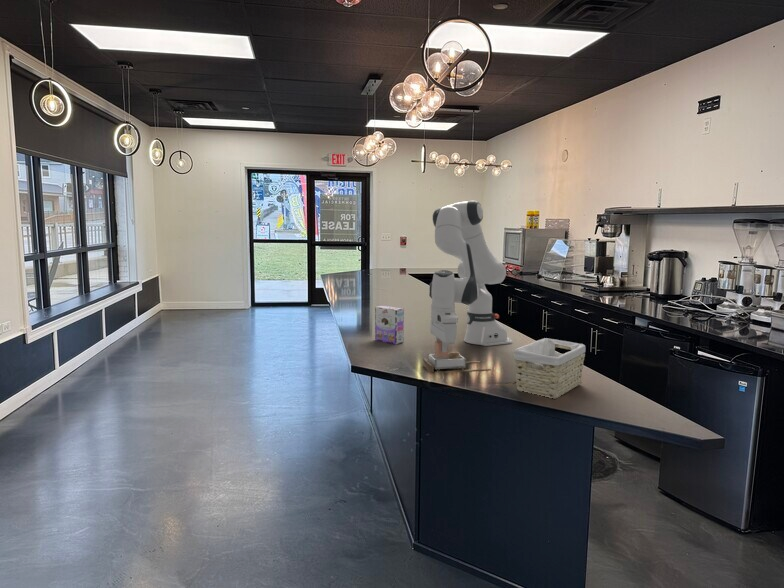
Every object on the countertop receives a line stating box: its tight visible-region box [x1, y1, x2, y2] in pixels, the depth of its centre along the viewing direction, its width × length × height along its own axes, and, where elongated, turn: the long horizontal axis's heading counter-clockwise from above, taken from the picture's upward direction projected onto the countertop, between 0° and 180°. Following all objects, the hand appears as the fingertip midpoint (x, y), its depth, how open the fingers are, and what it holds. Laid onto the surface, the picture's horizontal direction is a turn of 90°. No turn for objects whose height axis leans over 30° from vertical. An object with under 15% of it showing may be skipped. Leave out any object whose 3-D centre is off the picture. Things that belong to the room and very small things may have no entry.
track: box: [422, 358, 492, 374], centre depth 197 cm, size 24×13×4 cm, turn 103°
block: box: [434, 340, 450, 357], centre depth 195 cm, size 4×4×5 cm
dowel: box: [448, 351, 460, 359], centre depth 197 cm, size 4×4×4 cm
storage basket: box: [513, 337, 586, 400], centre depth 178 cm, size 24×16×15 cm
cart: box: [427, 352, 467, 372], centre depth 196 cm, size 12×9×5 cm
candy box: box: [374, 305, 405, 345], centre depth 243 cm, size 14×6×16 cm, turn 47°
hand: (441, 350), depth 195 cm, fingers closed on block, 4 cm apart
